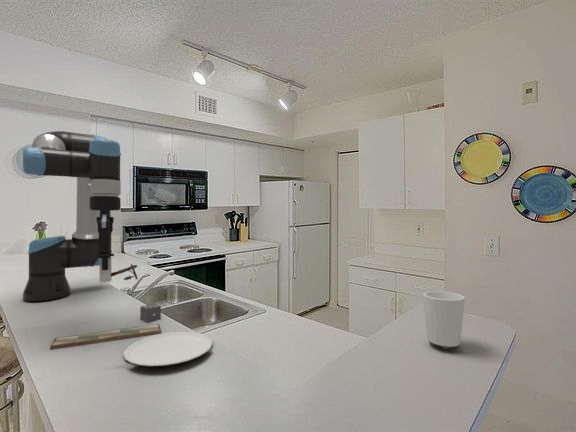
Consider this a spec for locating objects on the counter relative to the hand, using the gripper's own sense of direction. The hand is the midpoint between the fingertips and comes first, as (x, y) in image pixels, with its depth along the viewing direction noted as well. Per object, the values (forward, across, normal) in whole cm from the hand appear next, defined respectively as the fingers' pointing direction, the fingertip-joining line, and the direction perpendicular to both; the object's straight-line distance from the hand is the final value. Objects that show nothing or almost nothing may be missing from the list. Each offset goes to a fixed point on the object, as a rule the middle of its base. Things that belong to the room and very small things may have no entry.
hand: (105, 280), depth 91 cm
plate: (+16, +17, +15) cm, 28 cm away
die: (+15, -10, +12) cm, 22 cm away
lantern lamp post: (0, 0, 0) cm, 1 cm away
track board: (+15, +1, +1) cm, 15 cm away
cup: (+16, +44, +80) cm, 92 cm away
